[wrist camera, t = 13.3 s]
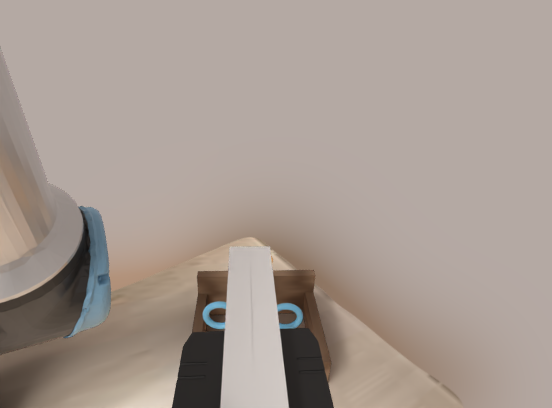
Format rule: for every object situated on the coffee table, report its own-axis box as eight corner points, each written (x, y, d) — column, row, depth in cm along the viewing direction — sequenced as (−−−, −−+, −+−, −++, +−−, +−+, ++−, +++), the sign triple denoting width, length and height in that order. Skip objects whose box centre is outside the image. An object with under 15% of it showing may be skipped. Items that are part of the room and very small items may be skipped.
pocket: (188, 391, 42) (184, 348, 38) (200, 309, 53) (198, 271, 50) (327, 385, 43) (334, 344, 40) (309, 306, 55) (313, 270, 52)
